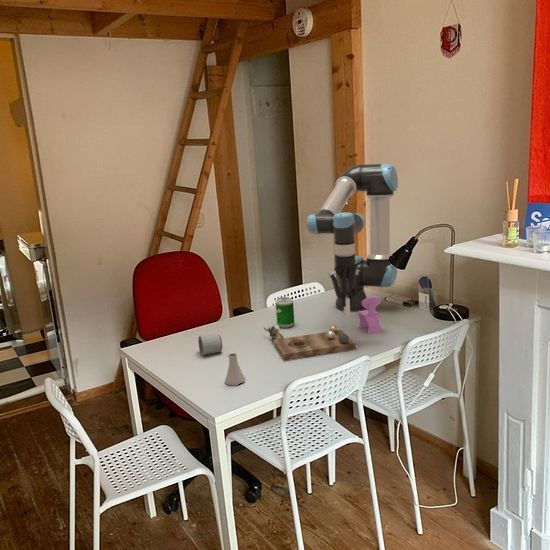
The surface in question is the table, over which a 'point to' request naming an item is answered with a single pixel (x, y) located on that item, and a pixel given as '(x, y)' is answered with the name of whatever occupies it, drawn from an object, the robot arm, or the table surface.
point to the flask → (234, 371)
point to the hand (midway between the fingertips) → (347, 314)
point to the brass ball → (333, 329)
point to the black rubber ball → (343, 338)
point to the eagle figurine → (274, 332)
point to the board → (312, 345)
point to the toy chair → (370, 315)
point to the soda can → (285, 312)
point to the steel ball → (330, 334)
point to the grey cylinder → (210, 344)
